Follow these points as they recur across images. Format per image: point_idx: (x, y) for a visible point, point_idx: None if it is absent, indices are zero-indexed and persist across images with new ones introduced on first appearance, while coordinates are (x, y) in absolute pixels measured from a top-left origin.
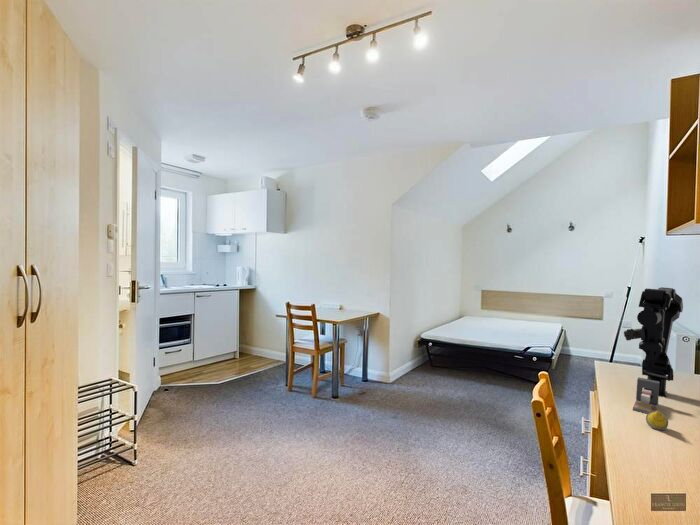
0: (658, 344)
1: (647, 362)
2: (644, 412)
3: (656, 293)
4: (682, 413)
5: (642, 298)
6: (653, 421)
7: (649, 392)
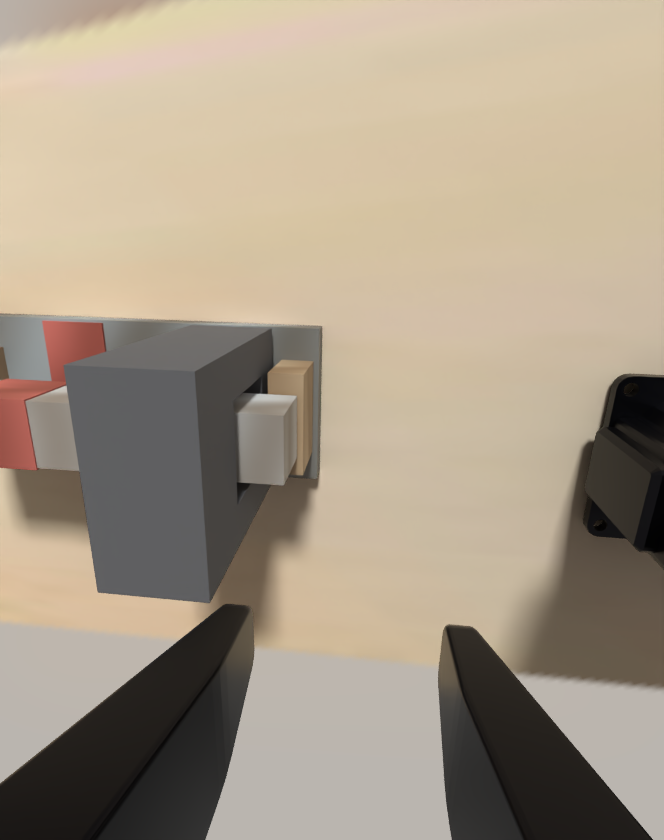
0: None
1: (149, 667)
2: None
3: None
4: (230, 593)
5: None
6: None
7: (67, 460)
